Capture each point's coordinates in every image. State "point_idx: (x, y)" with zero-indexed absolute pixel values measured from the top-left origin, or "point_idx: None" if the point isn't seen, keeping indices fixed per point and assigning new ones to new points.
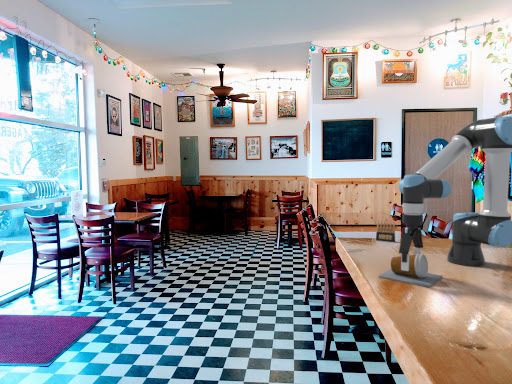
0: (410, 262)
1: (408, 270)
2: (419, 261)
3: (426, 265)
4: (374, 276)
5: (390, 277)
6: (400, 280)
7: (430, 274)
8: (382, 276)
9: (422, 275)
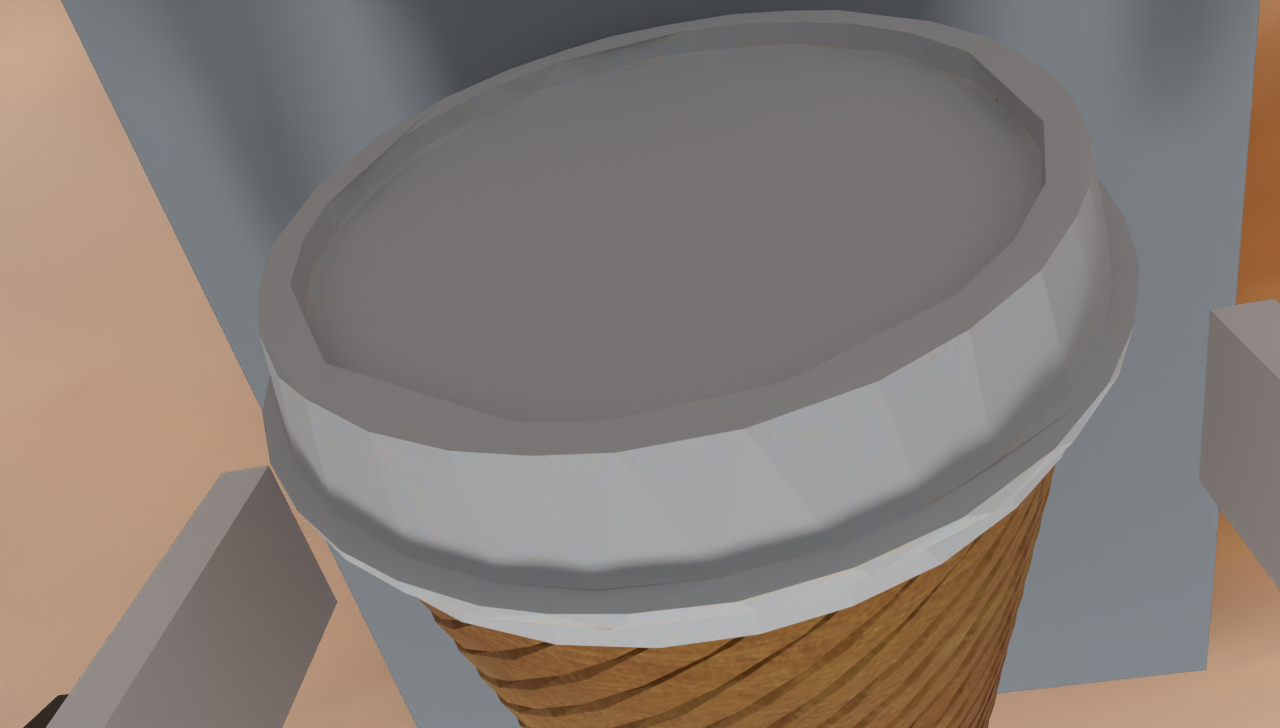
0: (1044, 493)
1: (1242, 312)
2: (1078, 251)
3: (349, 227)
4: (1187, 703)
5: (1172, 512)
6: (1234, 303)
7: (210, 128)
8: (1208, 618)
9: (869, 17)
